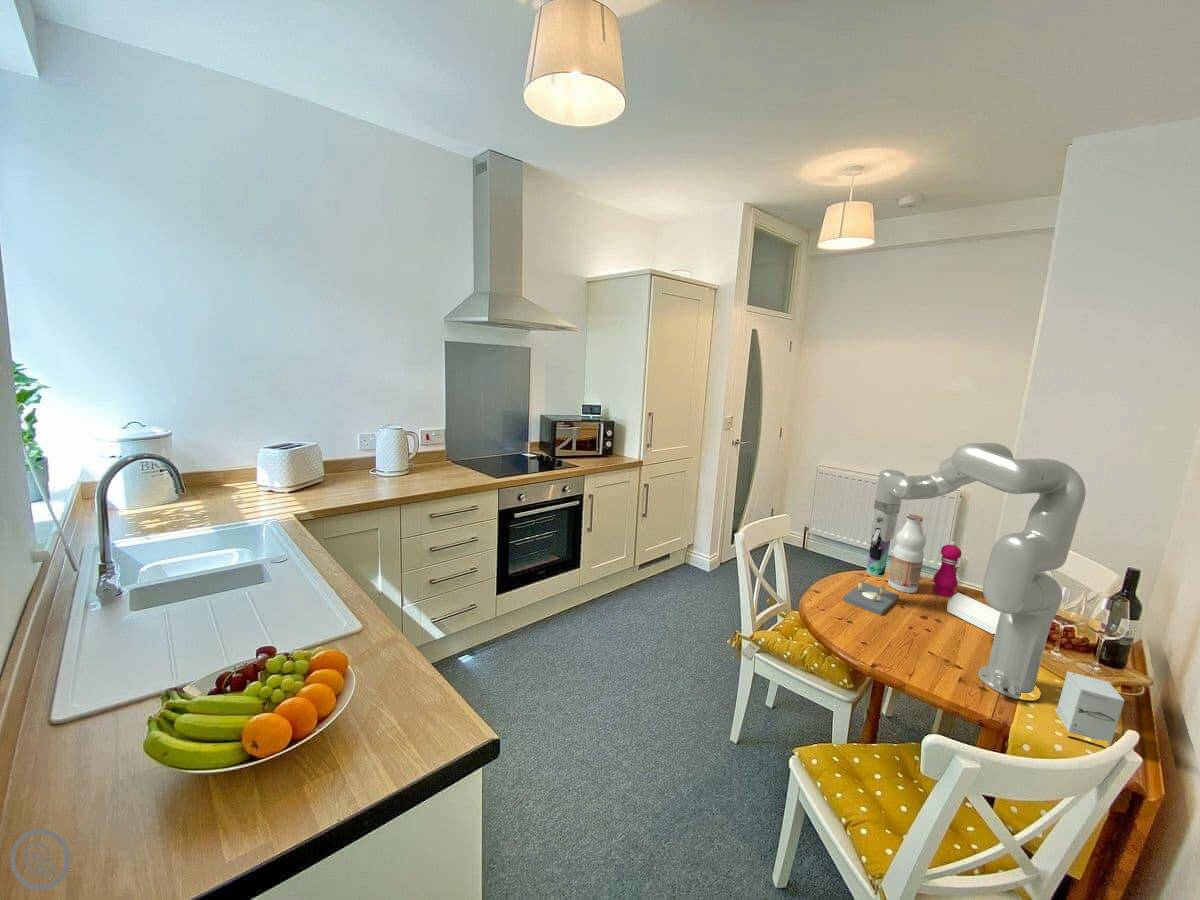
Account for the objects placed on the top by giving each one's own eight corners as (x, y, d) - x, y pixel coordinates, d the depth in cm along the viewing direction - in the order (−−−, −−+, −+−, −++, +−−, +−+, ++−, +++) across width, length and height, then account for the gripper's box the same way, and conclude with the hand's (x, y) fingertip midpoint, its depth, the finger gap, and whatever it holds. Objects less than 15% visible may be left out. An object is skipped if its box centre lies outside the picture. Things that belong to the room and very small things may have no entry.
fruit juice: (887, 588, 175) (900, 516, 169) (887, 579, 183) (899, 510, 177) (917, 596, 170) (931, 522, 164) (916, 586, 178) (930, 515, 172)
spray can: (862, 571, 165) (871, 517, 161) (873, 568, 168) (882, 515, 164) (877, 578, 161) (887, 522, 157) (887, 575, 163) (897, 520, 159)
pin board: (880, 615, 156) (882, 602, 155) (842, 600, 164) (844, 588, 163) (898, 598, 168) (900, 586, 167) (862, 585, 176) (864, 574, 175)
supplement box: (1066, 737, 107) (1079, 688, 104) (1053, 716, 113) (1066, 669, 111) (1110, 751, 103) (1126, 700, 101) (1095, 728, 110) (1109, 680, 107)
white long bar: (938, 600, 160) (1020, 640, 138) (953, 588, 162) (1036, 626, 139) (942, 615, 163) (1023, 657, 141) (956, 603, 164) (1039, 643, 142)
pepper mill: (959, 598, 169) (970, 546, 165) (936, 596, 171) (947, 544, 167) (948, 589, 176) (959, 539, 172) (927, 586, 178) (937, 536, 174)
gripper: (890, 514, 151) (881, 567, 154) (907, 504, 162) (898, 554, 166) (865, 508, 156) (857, 559, 160) (883, 499, 168) (875, 547, 171)
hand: (878, 556), depth 163 cm, fingers closed on spray can, 5 cm apart
